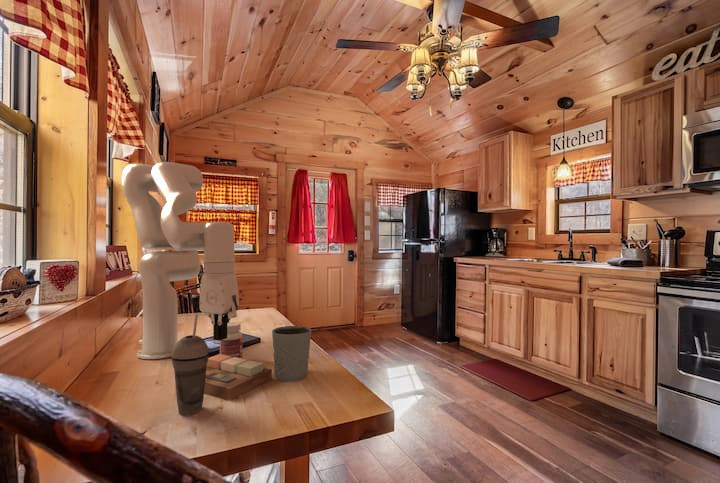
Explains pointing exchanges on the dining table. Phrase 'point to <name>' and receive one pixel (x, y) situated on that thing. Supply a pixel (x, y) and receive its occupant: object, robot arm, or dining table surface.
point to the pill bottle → (232, 341)
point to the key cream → (232, 364)
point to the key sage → (249, 368)
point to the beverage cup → (190, 372)
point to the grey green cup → (291, 352)
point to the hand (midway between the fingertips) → (220, 339)
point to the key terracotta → (217, 360)
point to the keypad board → (232, 382)
